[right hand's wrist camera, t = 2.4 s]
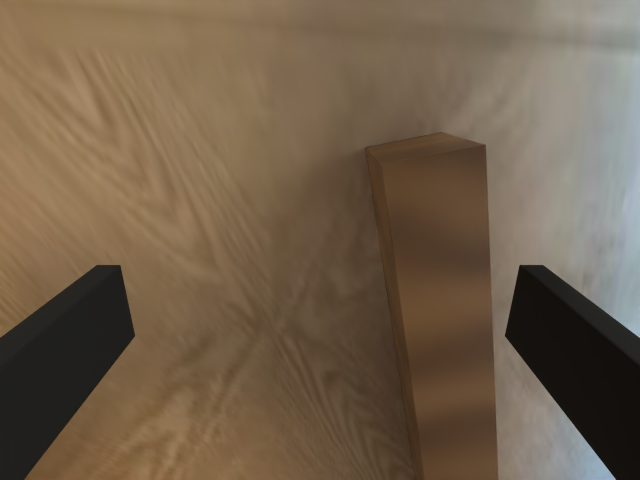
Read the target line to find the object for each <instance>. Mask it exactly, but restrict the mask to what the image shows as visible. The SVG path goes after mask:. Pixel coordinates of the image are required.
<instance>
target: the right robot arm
mask: <svg viewBox="0 0 640 480" xmlns="http://www.w3.org/2000/svg"><path fill="white" fill-rule="evenodd" d="M134 337H135V333H134V329H133V324H132V319H131V314H130V309H129V305H128V300H127V295H126V290H125V286H124V281H123V276H122V271H121V266H120V265H97V266H95V267H94V268H93V269H91V270H90V271H89V272H87V273H86V274H85V275H83V276H82V277H81V278H79V279H78V280H77V281H75V282H74V283H73V284H71V285H70V286H69V287H67V288H66V289H65V290H63V291H62V292H61V293H59V294H58V295H57V296H55V297H54V298H53V299H51V300H50V301H49V302H47V303H46V304H45V305H43V306H42V307H41V308H39V309H38V310H37V311H35V312H34V313H33V314H31V315H30V316H29V317H27V318H26V319H25V320H23V321H22V322H21V323H20V324H18V325H17V326H16V327H14V328H13V329H12V330H10V331H9V332H8V333H6V334H5V335H4V336H2V337H1V338H0V480H24V479H25V477H26V476H27V475H28V473H29V472H30V471H31V470H32V468H33V467H34V466H35V464H36V463H37V462H38V461H39V459H40V458H41V457H42V455H43V454H44V453H45V451H46V450H47V449H48V448H49V446H50V445H51V444H52V442H53V441H54V440H55V439H56V437H57V436H58V435H59V433H60V432H61V431H62V430H63V428H64V427H65V426H66V424H67V423H68V422H69V421H70V419H71V418H72V417H73V415H74V414H75V413H76V411H77V410H78V409H79V408H80V406H81V405H82V404H83V402H84V401H85V400H86V399H87V397H88V396H89V395H90V393H91V392H92V391H93V390H94V388H95V387H96V386H97V384H98V383H99V382H100V380H101V379H102V378H103V377H104V375H105V374H106V373H107V371H108V370H109V369H110V368H111V366H112V365H113V364H114V362H115V361H116V360H117V359H118V357H119V356H120V355H121V353H122V352H123V351H124V350H125V348H126V347H127V346H128V344H129V343H130V342H131V340H132V339H133V338H134ZM505 337H506V338H507V339H508V340H509V342H510V343H511V344H512V346H513V347H514V348H515V350H516V351H517V352H518V353H519V355H520V356H521V357H522V359H523V360H524V361H525V362H526V364H527V365H528V366H529V368H530V369H531V370H532V371H533V373H534V374H535V375H536V377H537V378H538V379H539V380H540V382H541V383H542V384H543V386H544V387H545V388H546V390H547V391H548V392H549V393H550V395H551V396H552V397H553V399H554V400H555V401H556V402H557V404H558V405H559V406H560V408H561V409H562V410H563V411H564V413H565V414H566V415H567V417H568V418H569V419H570V421H571V422H572V423H573V424H574V426H575V427H576V428H577V430H578V431H579V432H580V433H581V435H582V436H583V437H584V439H585V440H586V441H587V442H588V444H589V445H590V446H591V448H592V449H593V450H594V451H595V453H596V454H597V455H598V457H599V458H600V459H601V461H602V462H603V463H604V464H605V466H606V467H607V468H608V470H609V471H610V472H611V473H612V475H613V476H614V477H615V479H616V480H640V338H639V337H638V336H636V335H635V334H634V333H632V332H631V331H630V330H628V329H627V328H626V327H624V326H623V325H622V324H620V323H619V322H618V321H617V320H615V319H614V318H613V317H611V316H610V315H609V314H607V313H606V312H605V311H603V310H602V309H601V308H599V307H598V306H597V305H595V304H594V303H593V302H591V301H590V300H589V299H587V298H586V297H585V296H583V295H582V294H581V293H579V292H578V291H577V290H575V289H574V288H573V287H571V286H570V285H569V284H567V283H566V282H565V281H563V280H562V279H561V278H559V277H558V276H557V275H555V274H554V273H553V272H551V271H550V270H549V269H547V268H546V267H545V266H543V265H520V266H519V271H518V276H517V281H516V286H515V290H514V295H513V300H512V305H511V309H510V314H509V319H508V324H507V329H506V333H505Z"/></svg>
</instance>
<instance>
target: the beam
mask: <svg viewBox="0 0 640 480" xmlns="http://www.w3.org/2000/svg"><path fill="white" fill-rule="evenodd" d="M366 155H367V162H368V168H369V175H370V182H371V189H372V195H373V202H374V209H375V215H376V222H377V229H378V235H379V242H380V249H381V255H382V262H383V269H384V275H385V282H386V289H387V295H388V302H389V309H390V316H391V322H392V329H393V336H394V342H395V349H396V356H397V362H398V369H399V376H400V382H401V389H402V396H403V402H404V409H405V416H406V422H407V429H408V436H409V442H410V449H411V456H412V463H413V469H414V476H415V480H498V459H497V432H496V405H495V379H494V352H493V325H492V299H491V272H490V245H489V219H488V192H487V165H486V145H484V144H480V143H477V142H473V141H470V140H466V139H463V138H459V137H456V136H452V135H449V134H445V133H442V132H441V133H436V134H431V135H426V136H420V137H415V138H410V139H405V140H400V141H395V142H390V143H385V144H380V145H375V146H370V147H366Z"/></svg>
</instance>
